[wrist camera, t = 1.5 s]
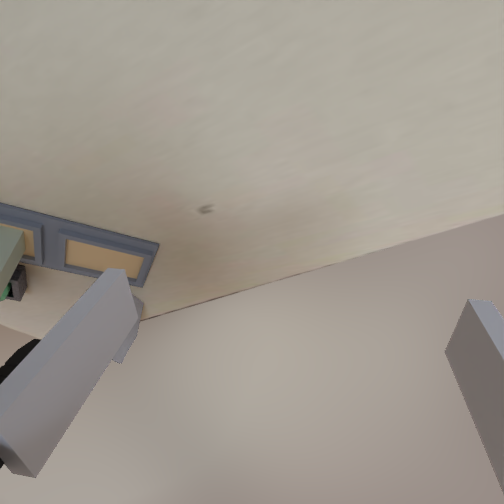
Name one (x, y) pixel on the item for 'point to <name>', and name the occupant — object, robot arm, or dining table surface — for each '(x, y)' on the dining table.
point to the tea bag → (132, 334)
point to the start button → (6, 291)
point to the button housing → (17, 284)
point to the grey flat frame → (78, 246)
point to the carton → (9, 253)
